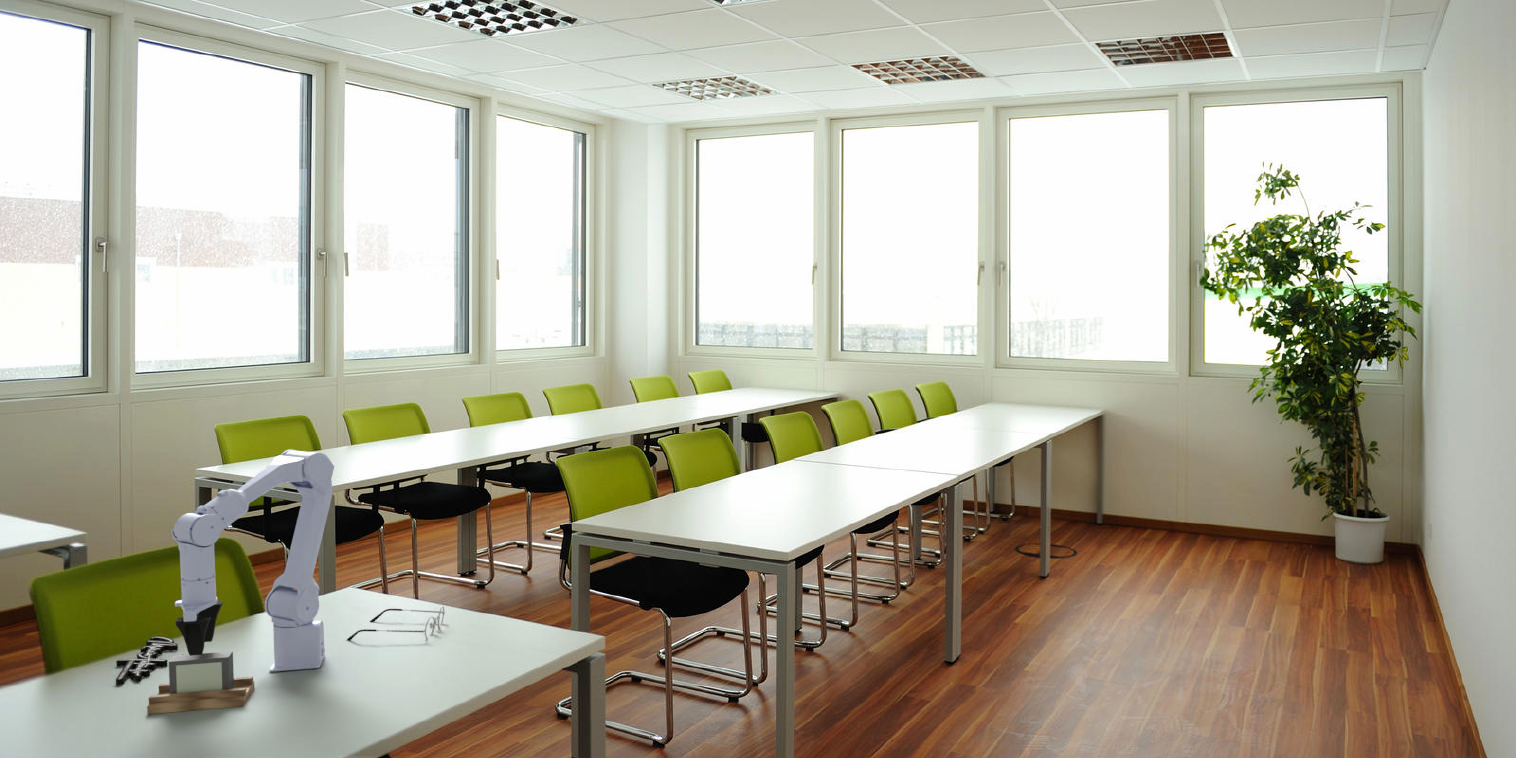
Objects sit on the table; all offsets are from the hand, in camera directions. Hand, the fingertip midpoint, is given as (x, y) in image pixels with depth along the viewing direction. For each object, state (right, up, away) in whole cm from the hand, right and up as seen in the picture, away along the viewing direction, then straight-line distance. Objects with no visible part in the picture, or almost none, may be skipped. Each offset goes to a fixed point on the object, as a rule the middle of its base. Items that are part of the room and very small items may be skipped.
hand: (201, 647), depth 196 cm
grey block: (+1, -8, -2) cm, 8 cm away
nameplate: (-22, -9, +20) cm, 31 cm away
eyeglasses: (+24, -7, +40) cm, 47 cm away
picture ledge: (+1, -10, -2) cm, 10 cm away
